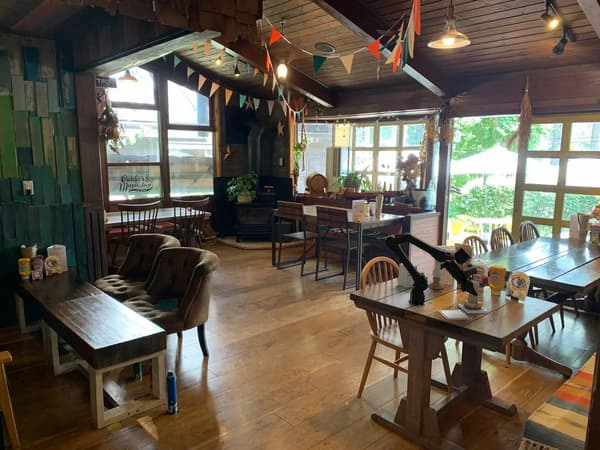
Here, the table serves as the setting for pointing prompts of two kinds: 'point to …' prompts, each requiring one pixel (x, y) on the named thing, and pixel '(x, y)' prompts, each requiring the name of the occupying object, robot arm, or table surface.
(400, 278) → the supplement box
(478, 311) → the ink pad
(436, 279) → the candle holder
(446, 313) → the marked card
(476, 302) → the wooden stamp
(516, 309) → the table surface
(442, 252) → the robot arm
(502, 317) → the table surface
